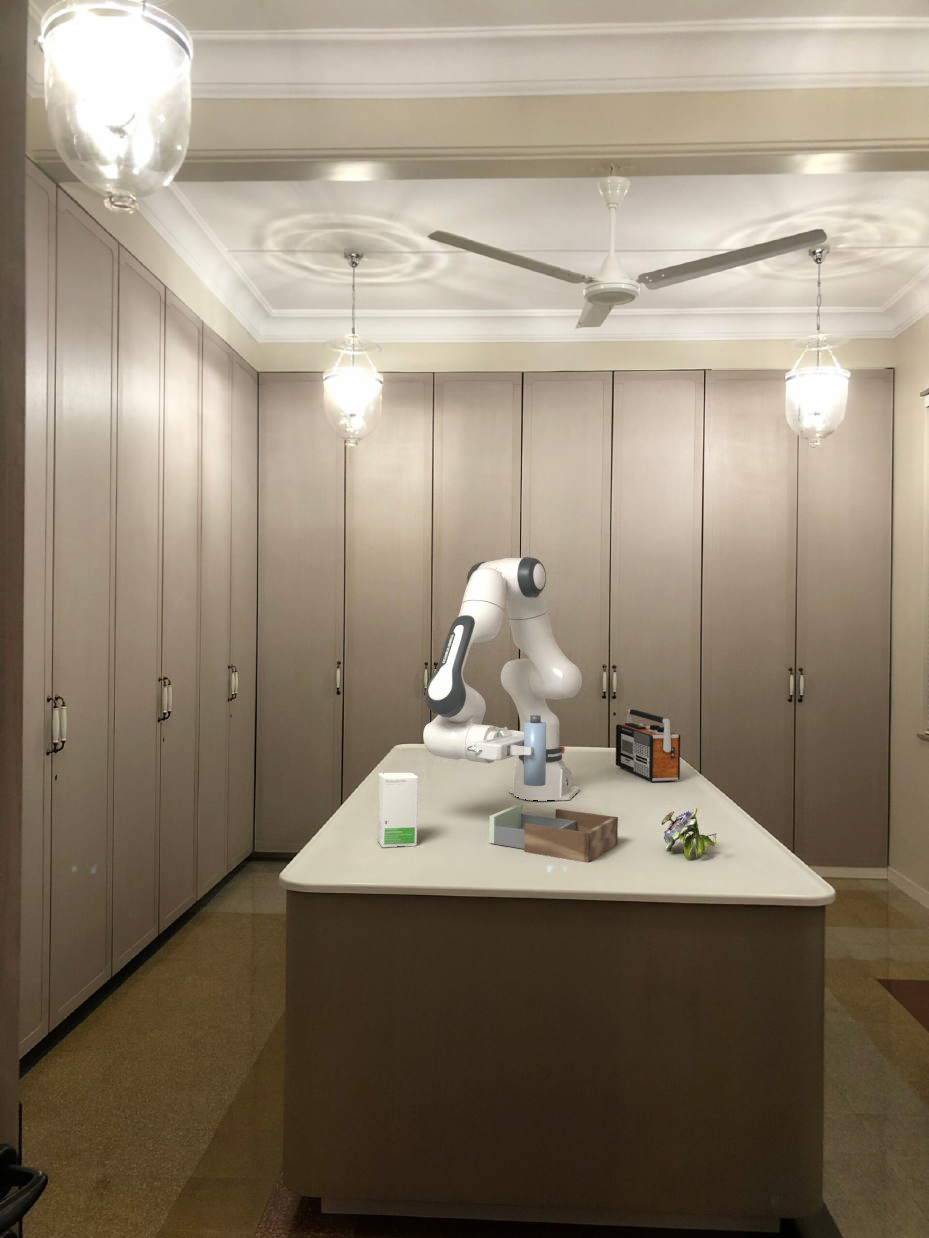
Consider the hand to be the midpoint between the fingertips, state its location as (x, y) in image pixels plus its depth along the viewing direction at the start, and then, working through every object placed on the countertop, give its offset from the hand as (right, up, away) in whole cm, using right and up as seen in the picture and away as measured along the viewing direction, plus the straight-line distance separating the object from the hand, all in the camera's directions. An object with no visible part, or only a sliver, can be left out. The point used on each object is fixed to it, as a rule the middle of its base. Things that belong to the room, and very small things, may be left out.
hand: (538, 749), depth 196 cm
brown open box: (+6, -21, -4) cm, 23 cm away
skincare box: (-32, -21, -2) cm, 38 cm away
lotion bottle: (-1, -8, 0) cm, 8 cm away
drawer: (0, -21, 0) cm, 21 cm away
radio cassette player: (+42, -21, +83) cm, 95 cm away
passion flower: (+32, -22, -7) cm, 40 cm away
